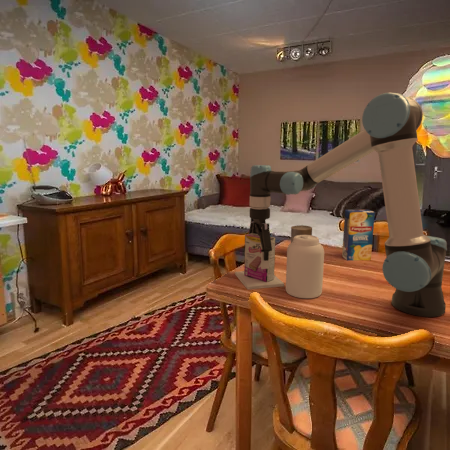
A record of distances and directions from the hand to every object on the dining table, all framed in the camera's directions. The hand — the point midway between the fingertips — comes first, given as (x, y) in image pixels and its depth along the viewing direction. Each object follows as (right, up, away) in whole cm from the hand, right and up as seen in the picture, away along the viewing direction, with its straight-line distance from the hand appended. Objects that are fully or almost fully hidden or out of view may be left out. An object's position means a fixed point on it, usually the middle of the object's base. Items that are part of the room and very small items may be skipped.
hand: (258, 263), depth 140 cm
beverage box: (+47, -1, +30) cm, 56 cm away
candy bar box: (0, -6, +1) cm, 6 cm away
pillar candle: (+23, 0, +34) cm, 41 cm away
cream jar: (+15, -9, -11) cm, 20 cm away
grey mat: (0, -7, +1) cm, 7 cm away
